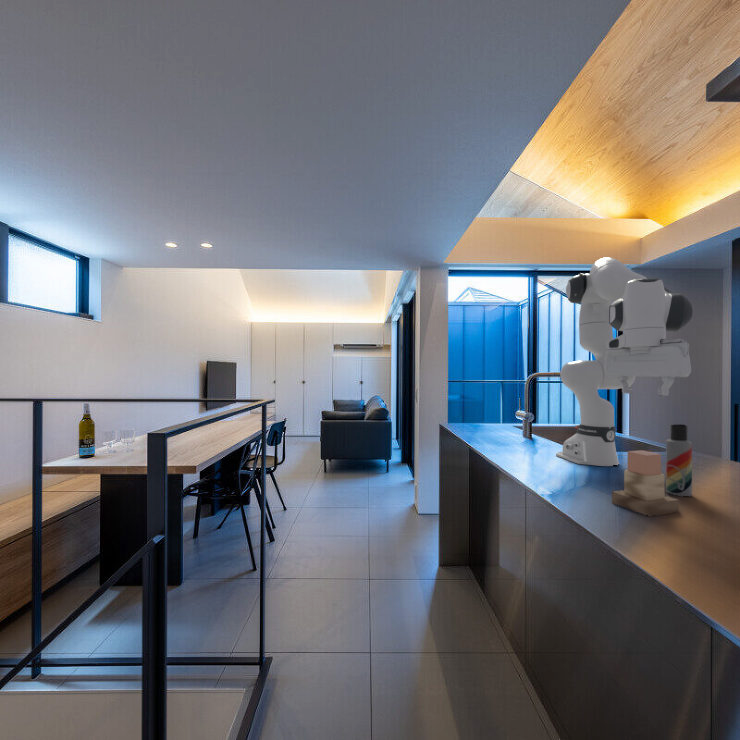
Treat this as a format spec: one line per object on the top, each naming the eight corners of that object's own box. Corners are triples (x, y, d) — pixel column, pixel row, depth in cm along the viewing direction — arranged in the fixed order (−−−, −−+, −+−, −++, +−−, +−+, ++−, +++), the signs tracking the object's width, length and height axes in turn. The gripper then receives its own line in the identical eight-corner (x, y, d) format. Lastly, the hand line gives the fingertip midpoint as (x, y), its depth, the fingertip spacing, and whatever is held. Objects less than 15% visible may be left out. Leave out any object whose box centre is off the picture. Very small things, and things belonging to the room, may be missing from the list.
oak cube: (624, 493, 101) (624, 470, 101) (641, 490, 102) (641, 468, 102) (646, 500, 95) (646, 476, 95) (664, 498, 97) (664, 474, 97)
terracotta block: (627, 470, 100) (627, 451, 100) (641, 469, 102) (641, 450, 102) (646, 475, 95) (646, 455, 95) (661, 473, 97) (660, 454, 97)
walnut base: (611, 502, 102) (611, 491, 102) (639, 499, 105) (639, 488, 105) (649, 516, 92) (649, 504, 92) (678, 511, 95) (678, 499, 95)
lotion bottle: (670, 495, 108) (670, 424, 108) (663, 489, 113) (663, 422, 113) (695, 498, 106) (695, 425, 106) (686, 491, 111) (686, 422, 111)
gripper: (698, 337, 89) (698, 396, 89) (617, 343, 109) (617, 392, 109) (678, 337, 88) (678, 397, 88) (600, 343, 107) (600, 392, 107)
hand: (644, 394), depth 98 cm, fingers open, 8 cm apart
